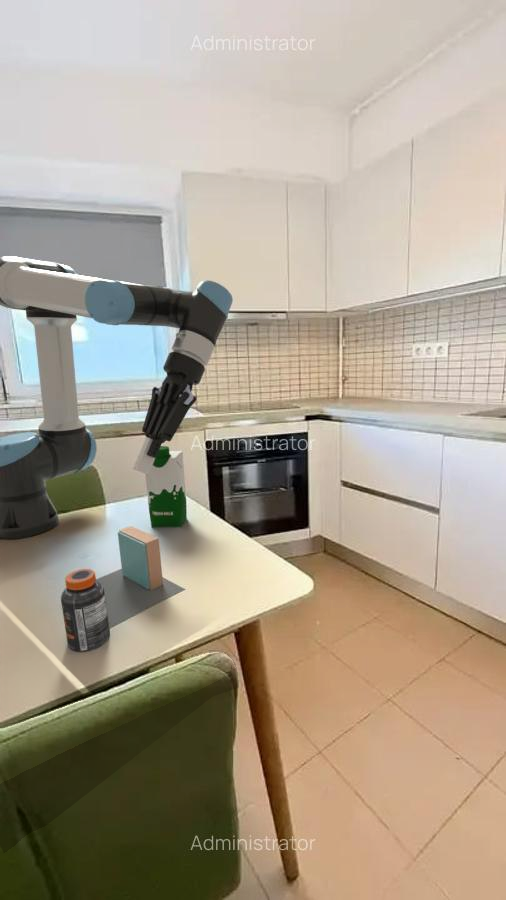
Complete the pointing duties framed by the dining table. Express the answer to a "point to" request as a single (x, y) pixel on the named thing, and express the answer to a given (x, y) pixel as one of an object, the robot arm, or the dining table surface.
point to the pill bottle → (84, 611)
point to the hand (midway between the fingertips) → (140, 471)
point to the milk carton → (167, 489)
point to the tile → (140, 557)
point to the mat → (131, 596)
